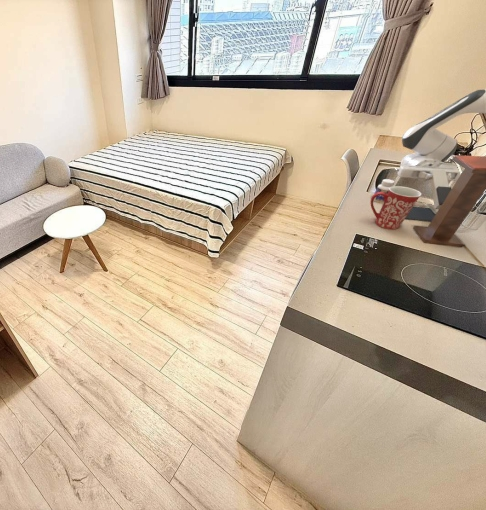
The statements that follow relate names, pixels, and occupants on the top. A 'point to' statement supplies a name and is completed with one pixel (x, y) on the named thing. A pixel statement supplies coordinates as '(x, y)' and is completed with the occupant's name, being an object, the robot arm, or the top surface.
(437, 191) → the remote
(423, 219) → the mat
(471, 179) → the shelf stand
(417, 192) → the mug
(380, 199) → the pill bottle
